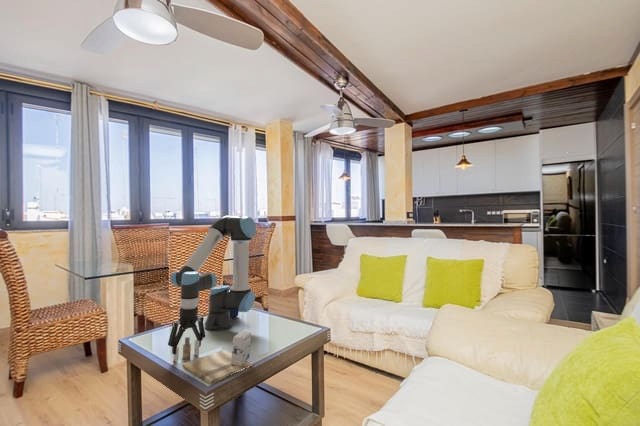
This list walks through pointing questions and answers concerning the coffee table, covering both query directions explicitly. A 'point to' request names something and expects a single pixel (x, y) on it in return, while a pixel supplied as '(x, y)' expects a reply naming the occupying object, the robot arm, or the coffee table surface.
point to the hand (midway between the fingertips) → (186, 357)
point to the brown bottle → (186, 349)
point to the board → (214, 366)
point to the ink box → (241, 348)
